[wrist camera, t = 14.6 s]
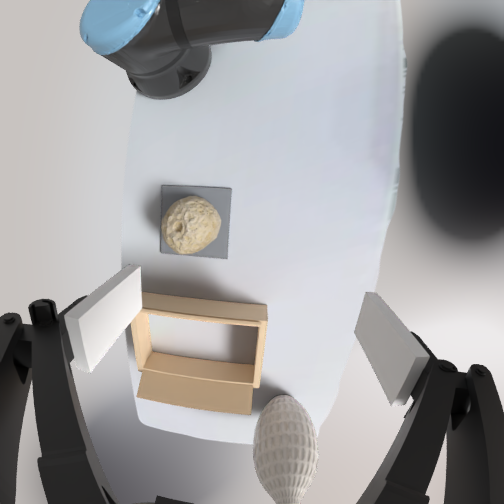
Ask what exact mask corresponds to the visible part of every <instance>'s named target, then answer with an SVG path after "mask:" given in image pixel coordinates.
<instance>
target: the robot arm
mask: <svg viewBox="0 0 504 504" xmlns="http://www.w3.org/2000/svg"><path fill="white" fill-rule="evenodd" d="M303 6H304V0H90V1H89V3H88V4H87V6H86V8H85V9H84V12H83V14H82V17H81V20H80V35H81V38H82V39H83V41H84V42H85V43H86V44H87V45H88V46H90V47H91V48H92V49H93V51H94V52H96V53H97V54H99V55H101V56H103V57H105V58H106V59H108V60H110V61H111V62H113V63H115V64H116V65H118V66H120V67H121V68H123V69H124V70H126V72H127V75H128V78H129V80H130V82H131V84H132V85H133V87H134V88H135V89H136V90H137V91H139V92H140V93H142V94H144V95H145V96H147V97H150V98H153V99H171V98H175V97H178V96H181V95H183V94H185V93H187V92H189V91H190V90H192V89H193V88H194V87H195V86H197V85H198V84H199V83H200V82H201V80H202V79H203V78H204V76H205V75H206V73H207V71H208V69H209V67H210V63H211V49H210V46H209V45H215V44H222V43H230V42H240V41H251V40H254V41H255V42H260V41H263V40H268V39H281V38H285V37H287V36H289V35H291V34H292V33H293V32H294V31H295V29H296V28H297V26H298V24H299V21H300V18H301V15H302V11H303ZM28 308H29V313H30V317H31V321H32V325H30V324H23V323H22V319H21V317H20V315H19V314H17V313H6V314H4V315H3V316H1V317H0V504H15V496H16V475H17V474H16V473H17V461H18V451H19V442H20V435H21V429H22V422H23V416H24V411H25V406H26V402H27V397H28V393H29V389H30V384H31V381H32V383H33V397H34V407H35V416H36V423H37V430H38V436H39V442H40V447H41V452H42V457H39V458H38V468H39V472H40V477H41V480H42V484H43V488H44V491H45V495H46V498H47V501H48V504H120V503H119V501H118V500H117V498H116V496H115V495H114V493H113V491H112V489H111V487H110V485H109V482H108V480H107V478H106V476H105V474H104V472H103V469H102V467H101V464H100V462H99V459H98V457H97V454H96V452H95V449H94V446H93V444H92V441H91V438H90V435H89V432H88V429H87V426H86V423H85V420H84V417H83V413H82V410H81V406H80V403H79V399H78V395H77V392H76V387H75V383H74V379H73V375H72V370H71V366H70V362H71V361H72V360H73V359H74V360H75V364H76V367H77V369H80V370H83V371H86V372H89V373H91V372H92V370H93V369H94V368H95V367H96V365H97V364H98V363H99V361H100V360H101V359H102V358H103V356H104V355H105V354H106V352H107V351H108V350H109V349H110V347H111V346H112V345H113V344H114V342H115V341H116V340H117V339H118V337H119V336H120V335H121V334H122V332H123V331H124V330H125V329H126V327H127V326H128V325H129V324H130V322H131V321H132V320H133V319H134V318H135V316H136V315H137V314H138V313H139V312H140V310H141V309H142V293H141V266H137V265H130V264H129V265H128V266H126V267H125V268H124V269H122V270H121V271H120V272H118V273H117V274H116V275H114V276H113V277H112V278H110V279H109V280H108V281H106V282H105V283H104V284H103V285H101V286H100V287H99V288H98V289H96V290H95V291H94V292H92V293H91V294H90V295H88V296H84V297H81V298H79V299H77V300H76V301H75V302H73V304H71V305H70V306H68V308H66V309H64V310H63V311H62V312H61V313H59V314H57V310H56V304H55V302H54V301H52V300H50V299H40V300H36V301H34V302H32V303H31V304H30V305H29V307H28ZM354 333H355V335H356V337H357V339H358V340H359V342H360V344H361V346H362V348H363V350H364V352H365V354H366V356H367V358H368V360H369V362H370V364H371V366H372V368H373V370H374V372H375V374H376V376H377V378H378V380H379V382H380V384H381V386H382V388H383V390H384V392H385V394H386V396H387V398H388V400H389V403H390V404H391V406H399V405H405V404H406V402H407V400H408V399H409V397H410V395H411V396H412V398H413V400H414V401H413V403H412V405H411V406H410V408H409V410H408V411H407V413H406V415H405V416H404V418H405V420H404V422H403V424H402V426H401V428H400V430H399V432H398V434H397V436H396V439H395V440H394V442H393V444H392V446H391V448H390V450H389V452H388V454H387V455H386V457H385V459H384V461H383V463H382V464H381V466H380V468H379V469H378V471H377V473H376V474H375V476H374V478H373V479H372V481H371V482H370V484H369V485H368V487H367V489H366V490H365V492H364V493H363V494H362V496H361V497H360V499H359V500H358V502H357V503H356V504H428V503H429V500H430V499H429V496H426V495H425V494H426V491H427V488H428V485H429V483H430V480H431V478H432V475H433V472H434V470H435V467H436V464H437V461H438V458H439V455H440V451H441V448H442V445H443V441H444V438H445V434H447V467H446V468H447V469H446V487H445V498H444V504H504V412H503V409H502V405H501V401H500V398H499V395H498V392H497V389H496V386H495V383H494V380H493V377H492V374H491V372H490V371H489V370H488V369H487V368H486V367H485V366H483V365H479V364H473V365H471V367H470V369H469V370H468V372H467V373H464V372H458V370H457V368H456V366H455V365H454V364H452V363H451V362H449V361H446V360H438V359H437V358H436V357H435V355H434V354H433V353H432V352H431V350H430V349H429V348H427V346H426V344H425V343H424V342H423V341H422V339H421V338H420V337H419V336H418V335H416V334H415V333H413V332H410V331H409V330H408V329H407V327H406V326H405V325H404V324H403V323H402V321H401V320H400V319H399V318H398V317H397V316H396V314H395V313H394V312H393V311H392V310H391V309H390V307H389V306H388V305H387V304H386V303H385V302H384V300H383V299H382V298H381V297H380V296H379V295H378V294H377V293H373V292H365V296H364V300H363V303H362V307H361V311H360V314H359V318H358V321H357V324H356V328H355V331H354ZM136 504H193V503H188V502H183V501H178V500H173V499H169V498H165V497H161V496H157V497H156V501H155V503H136Z"/></svg>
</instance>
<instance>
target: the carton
mask: <svg viewBox="0 0 504 504" xmlns="http://www.w3.org/2000/svg"><path fill="white" fill-rule="evenodd" d="M141 293H142V309H141V310H140V312H139V313H138V314H137V315H136V316H135V318H134V319H133V320H132V321H131V330H132V337H133V343H134V349H135V355H136V361H137V367H138V371H140V372H142V376H141V380H140V384H139V388H138V393H137V397H138V398H143V399H147V400H151V401H156V402H161V403H166V404H171V405H176V406H182V407H188V408H194V409H201V410H208V411H216V412H224V413H234V414H245V415H251V408H252V395H253V388H259V386H260V378H261V370H262V363H263V355H264V347H265V339H266V331H267V322H268V317H267V305H259V304H247V303H236V302H225V301H215V300H206V299H196V298H188V297H179V296H171V295H163V294H155V293H148V292H141ZM148 314H153V315H159V316H166V317H173V318H181V319H188V320H196V321H205V322H214V323H223V324H233V325H244V326H256V327H258V335H257V344H256V353H255V363H254V365H251V364H239V363H229V362H220V361H211V360H203V359H196V358H189V357H182V356H175V355H169V354H163V353H158V352H152V346H151V337H150V328H149V318H148Z"/></svg>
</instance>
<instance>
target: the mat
mask: <svg viewBox="0 0 504 504" xmlns="http://www.w3.org/2000/svg"><path fill="white" fill-rule="evenodd" d="M231 192H232V189H228V188H211V187H191V186H162V205H161V221H162V219H163V217H164V216H165V214H166V212H167V211H168V209H169V208H170V206H172V205H173V203H175V202H176V201H178V200H180V199H183V198H186V197H188V196H198V197H200V198H204V199H206V200H207V201H208V202H210V203H211V204H212V205H213V206H214V208H215V209H216V210H217V212H218V214H219V216H220V218H221V226H220V230H219V233H218V235H217V238H216V239H214V241H212V242H211V243H210V244H208V245H207V246H206V247H205V248H203V249H202V250H200V251H198V252H195V253H193V254H178V253H176V252H175V251H173V250H172V249H171V248H170V247H169V246H168V245H167V244H166V242H165V241H164V239H163V234H162V229H161V253H165V254H176V255H187V256H198V257H209V258H221V259H227V256H228V239H229V222H230V207H231ZM161 225H162V223H161Z"/></svg>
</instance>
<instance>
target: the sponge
mask: <svg viewBox="0 0 504 504" xmlns="http://www.w3.org/2000/svg"><path fill="white" fill-rule="evenodd" d="M161 223H162V225H161V229H162V234H163V239H164V241H165V242H166V244H167V245H168V246H169V247H170V248H171V249H172V250H173V251H175V252H176V253H178V254H193V253H195V252H198V251H200V250H202V249H203V248H205V247H206V246H207V245H208V244H210V243H211V242H212V241H214V239H216V238H217V235H218V233H219V230H220V226H221V218H220V216H219V214H218V212H217V210H216V209H215V208H214V206H213V205H212V204H211V203H210V202H208V201H207V200H206V199H204V198H200V197H198V196H188V197H186V198H183V199H180V200H178V201H176V202H175V203H173V205H172V206H170V208H169V209H168V211H167V212H166V214H165V216H164V217H163V219H162V221H161Z"/></svg>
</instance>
